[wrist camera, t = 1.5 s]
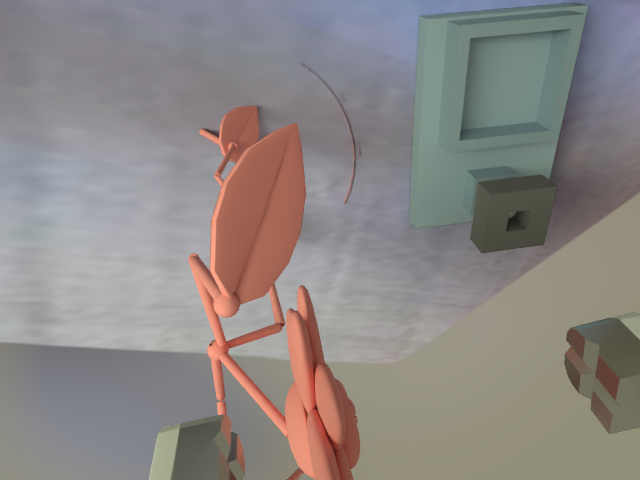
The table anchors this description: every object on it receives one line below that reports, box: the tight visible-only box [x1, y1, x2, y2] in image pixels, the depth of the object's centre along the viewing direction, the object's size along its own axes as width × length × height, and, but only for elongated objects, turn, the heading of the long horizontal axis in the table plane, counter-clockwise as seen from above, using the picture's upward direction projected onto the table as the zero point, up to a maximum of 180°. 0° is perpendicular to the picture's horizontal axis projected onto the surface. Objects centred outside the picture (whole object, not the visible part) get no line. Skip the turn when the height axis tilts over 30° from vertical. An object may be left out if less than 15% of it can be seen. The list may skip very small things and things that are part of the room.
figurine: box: [188, 65, 360, 480], centre depth 31 cm, size 15×26×35 cm, turn 4°
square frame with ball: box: [470, 174, 557, 253], centre depth 43 cm, size 6×6×2 cm
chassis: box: [409, 3, 588, 229], centre depth 43 cm, size 20×14×8 cm
